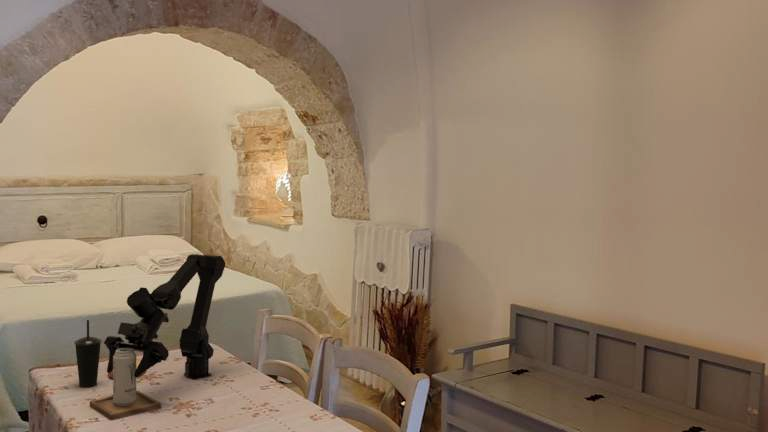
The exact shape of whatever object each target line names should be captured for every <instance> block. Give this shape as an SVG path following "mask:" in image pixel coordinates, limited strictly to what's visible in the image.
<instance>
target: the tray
mask: <svg viewBox="0 0 768 432" xmlns="http://www.w3.org/2000/svg"><path fill="white" fill-rule="evenodd" d="M89 407H90V408H91V409H93V410H95V411H96V412H97V413H99V414H101V415H103V416H104V417H106V418H107V419H109V420H110V421H113V420H117V419H121V418H125V417H129V416H134V415H139V414H143V413H147V412H150V411H155V410H159V409H162V402H160V401H158V400H156V399H154V398H153V397H151V396H149V395H147V394H145V393H143V392H142V391H140V390H136V400H135V401H134V404H132V405H129V406H116V405H115V403H114V402H113V395H112V396H108V397H102V398H98V399H93V400H90V401H89Z"/></svg>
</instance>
